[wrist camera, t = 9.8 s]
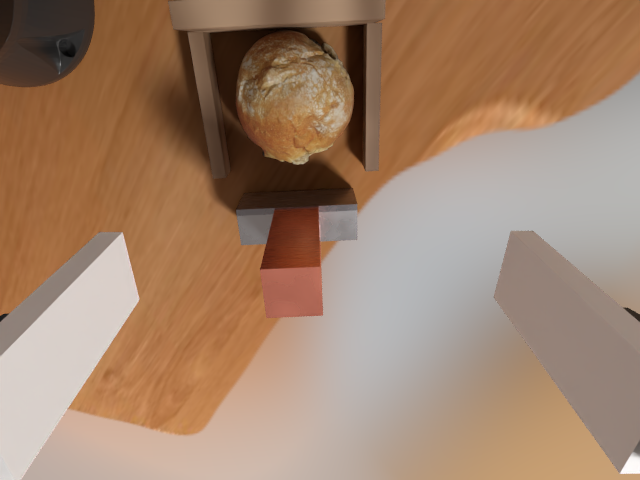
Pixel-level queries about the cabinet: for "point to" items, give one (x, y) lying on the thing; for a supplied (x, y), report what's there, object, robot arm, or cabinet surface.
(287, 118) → the bread roll
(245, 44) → the cabinet surface
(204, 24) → the frame
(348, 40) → the cabinet surface
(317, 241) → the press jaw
